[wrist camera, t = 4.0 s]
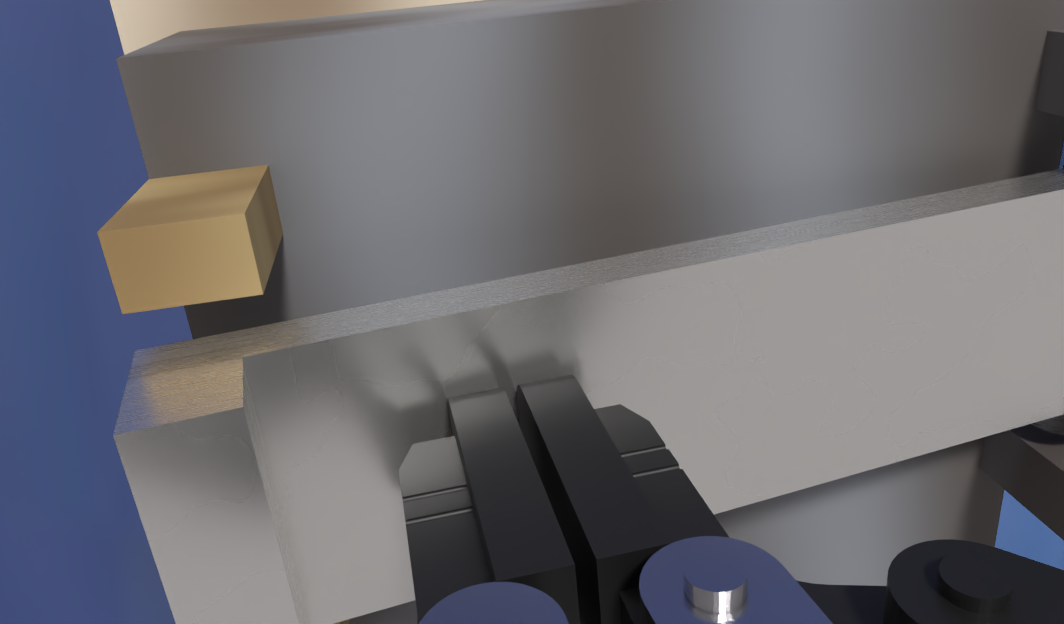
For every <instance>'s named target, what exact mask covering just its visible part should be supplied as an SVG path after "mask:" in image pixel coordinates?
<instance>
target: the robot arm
mask: <svg viewBox="0 0 1064 624" xmlns="http://www.w3.org/2000/svg"><path fill="white" fill-rule="evenodd" d="M516 392H517V405H518V414H519V423H520V426H519V424H518V421H517V419H516V416H515V414H514V411H513V409H512V406H511V404H510V401H509V399H508V396H507V394H506V392H505V389H504V388H497V389H492V390H486V391H481V392H476V393H470V394H465V395H459V396H454V397H448V398H447V403H448V409H449V416H450V423H451V430H452V436H451V437H446V438H441V439H436V440H430V441H425V442H420V443H415V444H412V446H411V448H410V450H409V452H408V454H407V455H406V457H405V459H404V461H403V463H402V465H401V467H400V469H399V477H400V484H401V492H402V499H403V507H404V515H405V522H406V531H407V538H408V546H409V554H410V561H411V569H412V577H413V585H414V592H415V600H416V608H417V624H1064V570H1061V569H1058V568H1055V567H1052V566H1049V565H1046V564H1043V563H1040V562H1037V561H1034V560H1031V559H1028V558H1025V557H1022V556H1019V555H1016V554H1013V553H1010V552H1007V551H1004V550H1001V549H998V548H995V547H992V546H988V545H985V544H981V543H976V542H971V541H965V540H954V539H943V540H932V541H925V542H921V543H918V544H915V545H912V546H910V547H908V548H906V549H904V550H903V551H901V552H900V553H899V554H898V555H897V556H896V557H895V558H894V559H893V560H892V562H891V564H890V567H889V569H888V576H887V586H866V585H826V584H813V583H807V582H801V581H796V580H795V579H794V578H793V576H792V575H791V574H790V573H789V572H788V571H787V569H786V568H785V567H784V566H783V565H782V564H781V563H780V562H779V561H778V560H777V559H776V558H775V557H773V556H772V555H771V554H769V553H768V552H767V551H765V550H763V549H761V548H759V547H757V546H755V545H753V544H750V543H747V542H745V541H741V540H737V539H733V538H729V536H728V535H727V533H726V532H725V530H724V529H723V527H722V526H721V524H720V523H719V522H718V520H717V519H716V517H715V516H714V514H713V513H712V511H711V510H710V508H709V507H708V505H707V504H706V503H705V501H704V500H703V498H702V497H701V495H700V494H699V492H698V491H697V489H696V488H695V487H694V485H693V484H692V482H691V481H690V479H689V478H688V476H687V475H686V473H685V472H684V471H683V469H680V468H679V463H678V462H677V460H676V459H675V457H674V456H673V455H672V453H671V452H670V450H669V449H666V445H665V443H664V441H663V440H662V439H661V437H660V436H659V434H658V433H657V431H656V430H655V428H654V427H653V425H652V424H651V423H650V421H648V420H647V419H645V418H643V417H642V416H640V415H638V414H636V413H635V412H633V411H631V410H629V409H628V408H626V407H624V406H623V405H621V404H618V405H613V406H608V407H603V408H597V409H594V408H593V407H592V405H591V403H590V401H589V400H588V398H587V396H586V395H585V393H584V391H583V389H582V388H581V386H580V384H579V382H578V381H577V379H576V378H575V376H574V375H568V376H562V377H557V378H551V379H546V380H540V381H535V382H529V383H524V384H518V385H517V391H516Z"/></svg>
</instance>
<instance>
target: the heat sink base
mask: <svg viewBox="0 0 1064 624" xmlns="http://www.w3.org/2000/svg"><path fill="white" fill-rule="evenodd" d="M110 3H111V6H112V10H113V14H114V17H115V21H116V25H117V28H118V32H119V36H120V40H121V43H122V47H123V51H124V54H125V55H123V56H121V57H119V58H116V60H117V63H118V67H119V71H120V74H121V78H122V82H123V85H124V89H125V93H126V96H127V100H128V103H129V107H130V111H131V114H132V118H133V122H134V125H135V129H136V133H137V136H138V140H139V144H140V147H141V151H142V155H143V158H144V162H145V165H146V169H147V173H148V176H149V180H148V181H147V182H146V183H145V184H144V185H143V186H142V187H141V188H140V189H139V190H138V191H137V192H136V193H135V194H134V195H133V196H132V197H131V198H130V199H129V200H128V201H127V202H126V203H125V204H124V206H123V207H122V208H121V209H120V210H119V211H118V212H117V213H116V214H115V215H114V216H113V217H112V218H111V219H110V220H109V221H108V222H107V223H106V224H105V225H104V226H103V227H102V228H101V229H100V230H99V231H98V232H97V233H98V236H99V239H100V243H101V246H102V249H103V252H104V256H105V259H106V262H107V265H108V269H109V272H110V275H111V278H112V282H113V285H114V288H115V291H116V295H117V298H118V301H119V304H120V308H121V311H122V314H127V313H134V312H141V311H148V310H155V309H163V308H170V307H177V306H184V308H185V311H186V315H187V319H188V322H189V326H190V330H191V333H192V337H193V339H197V338H202V337H208V336H213V335H218V334H223V333H228V332H233V331H238V330H243V329H248V328H253V327H258V326H264V325H269V324H274V323H279V322H284V321H289V320H294V319H299V318H304V317H309V316H314V315H319V314H325V313H330V312H335V311H340V310H345V309H350V308H355V307H360V306H365V305H370V304H375V303H380V302H386V301H391V300H396V299H401V298H406V297H411V296H416V295H421V294H426V293H431V292H436V291H442V290H447V289H452V288H457V287H462V286H467V285H472V284H477V283H482V282H487V281H492V280H497V279H503V278H508V277H513V276H518V275H523V274H528V273H533V272H538V271H543V270H548V269H553V268H558V267H564V266H569V265H574V264H579V263H584V262H589V261H594V260H599V259H604V258H609V257H614V256H619V255H625V254H630V253H635V252H640V251H645V250H650V249H655V248H660V247H665V246H670V245H675V244H681V243H686V242H691V241H696V240H701V239H706V238H711V237H716V236H721V235H726V234H731V233H736V232H742V231H747V230H752V229H757V228H762V227H767V226H772V225H777V224H782V223H787V222H792V221H797V220H803V219H808V218H813V217H818V216H823V215H828V214H833V213H838V212H843V211H848V210H853V209H859V208H864V207H869V206H874V205H879V204H884V203H889V202H894V201H899V200H904V199H909V198H914V197H920V196H925V195H930V194H935V193H940V192H945V191H950V190H955V189H960V188H965V187H970V186H975V185H981V184H986V183H991V182H996V181H1001V180H1006V179H1011V178H1016V177H1021V176H1026V175H1031V174H1037V173H1042V172H1047V171H1052V170H1057V169H1059V165H1060V159H1061V153H1062V147H1063V141H1064V0H110ZM1004 489H1005V490H1006V491H1007V492H1008V493H1009V494H1010V495H1012V496H1013V497H1014V498H1015V499H1016V500H1017V501H1019V502H1020V503H1021V504H1022V505H1023V506H1024V507H1026V508H1027V509H1028V510H1029V511H1030V512H1031V513H1033V514H1034V515H1035V516H1036V517H1037V518H1038V519H1040V520H1041V521H1042V522H1043V523H1044V524H1045V525H1046V526H1048V527H1049V528H1050V529H1051V530H1052V531H1053V532H1055V533H1056V534H1057V535H1058V536H1059V537H1060V538H1062V539H1063V540H1064V435H1059V434H1054V433H1050V432H1047V431H1044V430H1042V429H1039V428H1037V427H1035V426H1033V425H1032V424H1028V425H1025V426H1021V427H1018V428H1014V429H1011V430H1007V431H1004V432H1000V433H997V434H993V435H990V436H986V437H983V438H979V439H976V440H972V441H969V442H965V443H962V444H958V445H955V446H951V447H948V448H944V449H941V450H937V451H934V452H930V453H927V454H923V455H920V456H917V457H913V458H910V459H906V460H903V461H899V462H896V463H892V464H889V465H885V466H882V467H878V468H875V469H871V470H868V471H864V472H861V473H857V474H854V475H850V476H847V477H843V478H840V479H836V480H833V481H829V482H826V483H822V484H819V485H815V486H812V487H808V488H805V489H801V490H798V491H794V492H791V493H787V494H784V495H780V496H777V497H773V498H770V499H767V500H763V501H760V502H756V503H753V504H749V505H746V506H742V507H739V508H735V509H732V510H728V511H725V512H721V513H718V514H714V516H715V517H716V519H717V520H718V522H719V523H720V524H721V526H722V527H723V529H724V530H725V532H726V533H727V535H728V536H729V538H733V539H737V540H741V541H745V542H747V543H750V544H753V545H755V546H757V547H759V548H761V549H763V550H765V551H767V552H768V553H769V554H771V555H772V556H773V557H775V558H776V559H777V560H778V561H779V562H780V563H781V564H782V565H783V566H784V567H785V568H786V569H787V571H788V572H789V573H790V574H791V575H792V576H793V578H794V579H795V580H796V581H801V582H807V583H813V584H826V585H866V586H887V576H888V569H889V567H890V564H891V562H892V560H893V559H894V558H895V557H896V556H897V555H898V554H899V553H900V552H901V551H903V550H904V549H906V548H908V547H910V546H912V545H915V544H918V543H921V542H925V541H932V540H943V539H954V540H965V541H971V542H976V543H981V544H985V545H988V546H992V547H994V546H995V541H996V535H997V529H998V523H999V517H1000V511H1001V505H1002V499H1003V494H1004ZM334 624H417V608H416V600H414V601H411V602H407V603H404V604H400V605H397V606H393V607H390V608H386V609H383V610H379V611H376V612H372V613H369V614H365V615H362V616H358V617H355V618H351V619H348V620H344V621H341V622H337V623H334Z"/></svg>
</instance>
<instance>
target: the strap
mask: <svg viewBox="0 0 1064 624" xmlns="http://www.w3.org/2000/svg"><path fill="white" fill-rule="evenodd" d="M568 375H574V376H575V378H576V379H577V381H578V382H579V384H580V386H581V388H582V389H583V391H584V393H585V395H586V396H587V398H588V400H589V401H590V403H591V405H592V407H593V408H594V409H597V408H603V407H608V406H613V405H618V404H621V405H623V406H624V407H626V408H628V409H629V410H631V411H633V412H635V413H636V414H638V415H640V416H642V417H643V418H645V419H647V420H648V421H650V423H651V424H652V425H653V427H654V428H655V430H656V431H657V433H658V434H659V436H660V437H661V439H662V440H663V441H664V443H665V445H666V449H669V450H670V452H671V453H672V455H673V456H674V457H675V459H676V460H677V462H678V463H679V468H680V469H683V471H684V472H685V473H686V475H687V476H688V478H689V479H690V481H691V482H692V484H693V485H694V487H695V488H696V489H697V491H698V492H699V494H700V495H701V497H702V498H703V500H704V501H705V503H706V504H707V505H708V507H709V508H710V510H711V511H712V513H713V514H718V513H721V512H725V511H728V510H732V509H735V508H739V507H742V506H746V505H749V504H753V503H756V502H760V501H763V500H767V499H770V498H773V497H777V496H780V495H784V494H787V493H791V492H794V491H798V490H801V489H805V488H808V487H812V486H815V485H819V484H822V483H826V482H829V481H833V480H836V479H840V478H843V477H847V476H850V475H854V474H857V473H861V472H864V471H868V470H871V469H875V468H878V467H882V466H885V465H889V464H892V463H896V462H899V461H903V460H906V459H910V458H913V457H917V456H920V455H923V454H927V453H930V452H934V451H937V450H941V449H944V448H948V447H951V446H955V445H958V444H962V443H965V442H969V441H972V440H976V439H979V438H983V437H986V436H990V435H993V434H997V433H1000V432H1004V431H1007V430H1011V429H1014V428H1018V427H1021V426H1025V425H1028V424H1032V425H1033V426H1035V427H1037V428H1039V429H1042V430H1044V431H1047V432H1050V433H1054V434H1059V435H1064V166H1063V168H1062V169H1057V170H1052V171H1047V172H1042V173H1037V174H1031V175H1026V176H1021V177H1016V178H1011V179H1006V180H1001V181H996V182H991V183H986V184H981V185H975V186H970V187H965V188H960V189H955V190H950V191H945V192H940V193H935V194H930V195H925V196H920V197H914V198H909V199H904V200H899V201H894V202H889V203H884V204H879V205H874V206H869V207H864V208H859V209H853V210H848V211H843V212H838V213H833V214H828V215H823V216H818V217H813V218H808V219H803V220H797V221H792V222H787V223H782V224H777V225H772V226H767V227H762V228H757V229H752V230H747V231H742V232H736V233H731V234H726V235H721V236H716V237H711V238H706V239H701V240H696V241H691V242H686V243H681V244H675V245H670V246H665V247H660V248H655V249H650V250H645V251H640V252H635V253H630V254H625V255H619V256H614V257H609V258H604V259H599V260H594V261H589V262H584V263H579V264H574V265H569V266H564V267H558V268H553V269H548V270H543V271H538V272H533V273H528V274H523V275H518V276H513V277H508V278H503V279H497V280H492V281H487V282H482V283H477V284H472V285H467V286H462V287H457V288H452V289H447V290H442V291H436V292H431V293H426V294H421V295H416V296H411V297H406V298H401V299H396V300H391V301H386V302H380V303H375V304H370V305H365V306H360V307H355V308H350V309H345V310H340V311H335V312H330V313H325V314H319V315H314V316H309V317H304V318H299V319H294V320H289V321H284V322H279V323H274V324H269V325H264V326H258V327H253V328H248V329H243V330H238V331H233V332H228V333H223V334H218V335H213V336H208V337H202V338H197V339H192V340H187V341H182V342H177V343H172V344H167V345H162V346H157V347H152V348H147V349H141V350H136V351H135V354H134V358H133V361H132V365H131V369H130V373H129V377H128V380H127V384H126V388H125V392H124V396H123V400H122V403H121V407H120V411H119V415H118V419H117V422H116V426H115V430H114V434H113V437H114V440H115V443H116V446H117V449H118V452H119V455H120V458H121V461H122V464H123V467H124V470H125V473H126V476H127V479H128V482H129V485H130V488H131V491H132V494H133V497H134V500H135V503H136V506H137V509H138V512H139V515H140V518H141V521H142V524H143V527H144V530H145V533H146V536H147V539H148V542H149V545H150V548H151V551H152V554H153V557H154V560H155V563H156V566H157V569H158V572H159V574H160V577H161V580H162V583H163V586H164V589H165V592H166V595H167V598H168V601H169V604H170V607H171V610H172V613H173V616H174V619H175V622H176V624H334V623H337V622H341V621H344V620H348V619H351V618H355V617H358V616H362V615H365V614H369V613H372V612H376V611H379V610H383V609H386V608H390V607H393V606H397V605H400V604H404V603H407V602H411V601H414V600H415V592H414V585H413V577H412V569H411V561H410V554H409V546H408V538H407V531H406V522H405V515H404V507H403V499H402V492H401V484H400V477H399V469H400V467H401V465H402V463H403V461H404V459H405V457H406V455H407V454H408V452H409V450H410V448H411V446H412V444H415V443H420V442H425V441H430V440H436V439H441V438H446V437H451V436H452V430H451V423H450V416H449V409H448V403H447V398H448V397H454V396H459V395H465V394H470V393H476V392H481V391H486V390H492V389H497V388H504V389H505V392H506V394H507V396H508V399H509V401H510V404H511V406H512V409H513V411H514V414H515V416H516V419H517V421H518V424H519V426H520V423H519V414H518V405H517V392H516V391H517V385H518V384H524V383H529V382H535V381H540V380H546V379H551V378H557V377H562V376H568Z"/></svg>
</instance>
